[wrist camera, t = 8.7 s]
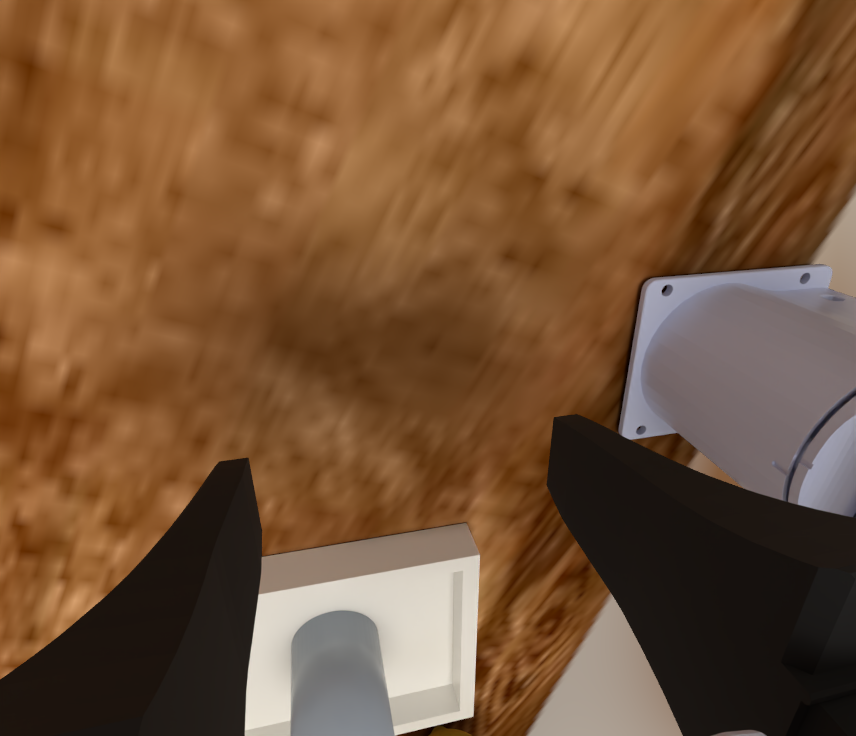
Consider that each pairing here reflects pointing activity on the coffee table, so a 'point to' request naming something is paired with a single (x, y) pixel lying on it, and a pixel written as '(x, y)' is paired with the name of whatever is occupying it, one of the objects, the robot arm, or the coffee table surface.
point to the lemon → (448, 732)
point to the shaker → (339, 678)
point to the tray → (390, 611)
